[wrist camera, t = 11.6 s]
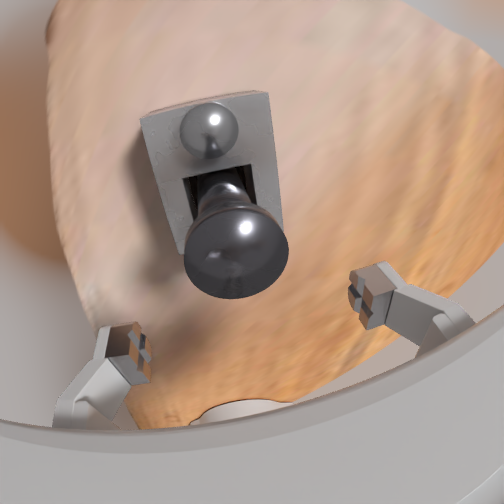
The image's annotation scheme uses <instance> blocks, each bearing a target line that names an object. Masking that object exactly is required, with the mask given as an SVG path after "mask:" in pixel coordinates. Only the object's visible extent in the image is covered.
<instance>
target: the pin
mask: <svg viewBox="0 0 504 504" xmlns="http://www.w3.org/2000/svg"><path fill="white" fill-rule="evenodd" d="M197 196H198V217H197V218H196V219H195V220H194V222H193V223H192V224H191V226H190V228H189V229H188V232H187V234H186V238H185V243H184V265H185V270H186V273H187V275H188V277H189V278H190V280H191V282H192V283H193V284H194V285H195V286H196V287H197V288H199V289H200V290H201V291H203V292H204V293H207V294H209V295H211V296H214V297H218V298H223V299H239V298H245V297H249V296H252V295H255V294H257V293H259V292H261V291H263V290H265V289H266V288H268V287H269V286H270V285H272V284H273V283H274V282H275V281H276V280H277V279H278V278H279V276H280V275H281V274H282V272H283V270H284V268H285V266H286V263H287V260H288V254H289V248H288V242H287V239H286V237H285V235H284V233H283V231H282V229H281V227H280V226H279V224H278V222H277V220H276V219H275V218H274V216H273V215H272V214H271V213H270V212H268V211H267V210H266V209H264V208H262V207H260V206H258V205H256V204H253V203H251V201H250V198H249V196H248V194H247V192H246V190H245V188H244V185H243V183H242V181H241V179H240V177H239V175H238V172H237V170H236V169H235V167H231V168H226V169H221V170H217V171H212V172H208V173H203V174H199V175H197Z"/></svg>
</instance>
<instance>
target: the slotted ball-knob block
mask: <svg viewBox="0 0 504 504" xmlns="http://www.w3.org/2000/svg"><path fill="white" fill-rule="evenodd" d="M140 123H141V127H142V131H143V135H144V139H145V143H146V147H147V151H148V154H149V158H150V162H151V165H152V169H153V172H154V176H155V179H156V183H157V186H158V190H159V193H160V196H161V200H162V203H163V206H164V209H165V213H166V216H167V219H168V222H169V225H170V228H171V231H172V234H173V237H174V240H175V243H176V246H177V249H178V252H179V255H181V254H184V243H185V238H186V234H187V232H188V229H189V228H190V226H191V224H192V223H193V222H194V220H195V219H196V218H197V217H198V210H197V209H196V206H195V202H194V198H193V194H192V190H191V186H190V182H189V178H188V177H190V176H194V175H199V174H203V173H208V172H212V171H217V170H221V169H226V168H231V167H236V166H241V165H243V167H244V173H245V179H246V186H247V192H248V196H249V198H250V201H251V203H253V204H256V205H258V206H260V207H262V208H264V209H266V210H267V211H268V212H270V213H271V214H272V215H273V216H274V218H275V219H276V220H277V222H278V224H279V226H280V227H281V229H282V231H283V232H284V230H283V219H282V208H281V198H280V188H279V178H278V169H277V160H276V151H275V142H274V134H273V126H272V118H271V110H270V102H269V95H268V92H263V91H255V90H253V91H245V92H239V93H232V94H226V95H221V96H215V97H210V98H205V99H200V100H196V101H191V102H187V103H182V104H178V105H174V106H170V107H166V108H163V109H159V110H155V111H152V112H150V113H148V114H146V115H145V116H143V117H142V118H140Z"/></svg>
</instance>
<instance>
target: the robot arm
mask: <svg viewBox="0 0 504 504" xmlns="http://www.w3.org/2000/svg"><path fill="white" fill-rule="evenodd" d="M349 280H350V281H351V283H352V284H351V285H350V286H349V288H348V298H349V302H350V305H351V307H352V308H353V310H354V311H356V312H358V313H360V314H359V320H360V321H361V323H362V324H363V326H364V328H365V329H366V330H369V329H372V328H375V327H378V326H381V325H384V324H385V326H387V327H389V328H390V329H392V330H394V331H395V332H397V333H398V334H400V335H402V336H404V337H405V338H407V339H409V340H410V341H412V342H413V343H415V344H416V345H418V346H420V348H419V350H418V352H417V354H416V356H415V358H414V359H413V360H410V361H408V362H406V363H404V364H402V365H399V366H397V367H395V368H393V369H391V370H388V371H386V372H384V373H382V374H379V375H377V376H374V377H372V378H370V379H367V380H365V381H362V382H360V383H357V384H354V385H352V386H349V387H346V388H343V389H341V390H338V391H335V392H332V393H329V394H326V395H323V396H320V397H317V398H314V399H310V400H307V401H304V402H300V403H297V404H294V403H279V402H275V401H271V400H260V399H257V400H244V401H237V402H232V403H227V404H224V405H220V406H217V407H215V408H212V409H210V410H208V411H207V412H205V413H204V414H203V415H202V416H201V417H200V418H199V419H197V420H195V421H193V422H191V423H190V425H189V426H180V427H171V428H159V429H144V430H121V429H120V428H119V427H118V426H116V425H115V424H114V423H112V420H113V418H114V416H115V415H116V413H117V411H118V409H119V407H120V406H121V404H122V402H123V400H124V399H125V397H126V395H127V393H128V392H129V390H130V388H131V385H137V384H144V383H151V367H150V366H149V365H148V363H149V361H150V360H151V359H152V351H151V345H150V343H149V340H148V338H147V337H146V336H145V335H144V334H142V333H141V327H140V325H139V324H138V322H129V323H122V324H116V325H111V326H103V327H101V328H100V330H99V333H98V337H97V342H96V346H95V351H94V355H93V360H89V361H88V363H87V364H86V365H85V366H84V368H83V369H82V370H81V371H80V372H79V373H78V375H77V376H76V377H75V378H74V380H73V381H72V382H71V383H70V384H69V386H68V387H67V388H66V389H65V391H64V392H63V393H62V394H61V396H60V397H59V398H58V399H57V402H56V407H55V413H54V419H53V425H52V427H45V426H37V425H30V424H23V423H18V422H12V421H7V420H2V419H0V504H504V305H502V306H501V307H500V308H498V309H497V310H496V311H494V312H492V313H491V314H490V315H488V316H487V317H485V318H484V319H482V320H481V321H479V322H478V323H475V322H474V321H473V319H472V318H470V316H469V315H468V314H467V312H466V311H465V310H464V309H463V308H462V307H461V305H460V304H459V303H457V302H454V301H452V300H449V299H447V298H444V297H442V296H439V295H437V294H434V293H432V292H429V291H427V290H424V289H422V288H419V287H417V286H414V285H412V284H409V285H407V284H406V282H405V281H404V280H403V279H402V278H401V277H400V276H399V275H398V273H397V272H396V271H395V270H394V269H393V268H392V267H391V266H390V265H389V264H388V262H386V261H382V262H379V263H375V264H373V265H369V266H366V267H363V268H359V269H356V270H352V271H351V272H350V276H349Z"/></svg>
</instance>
